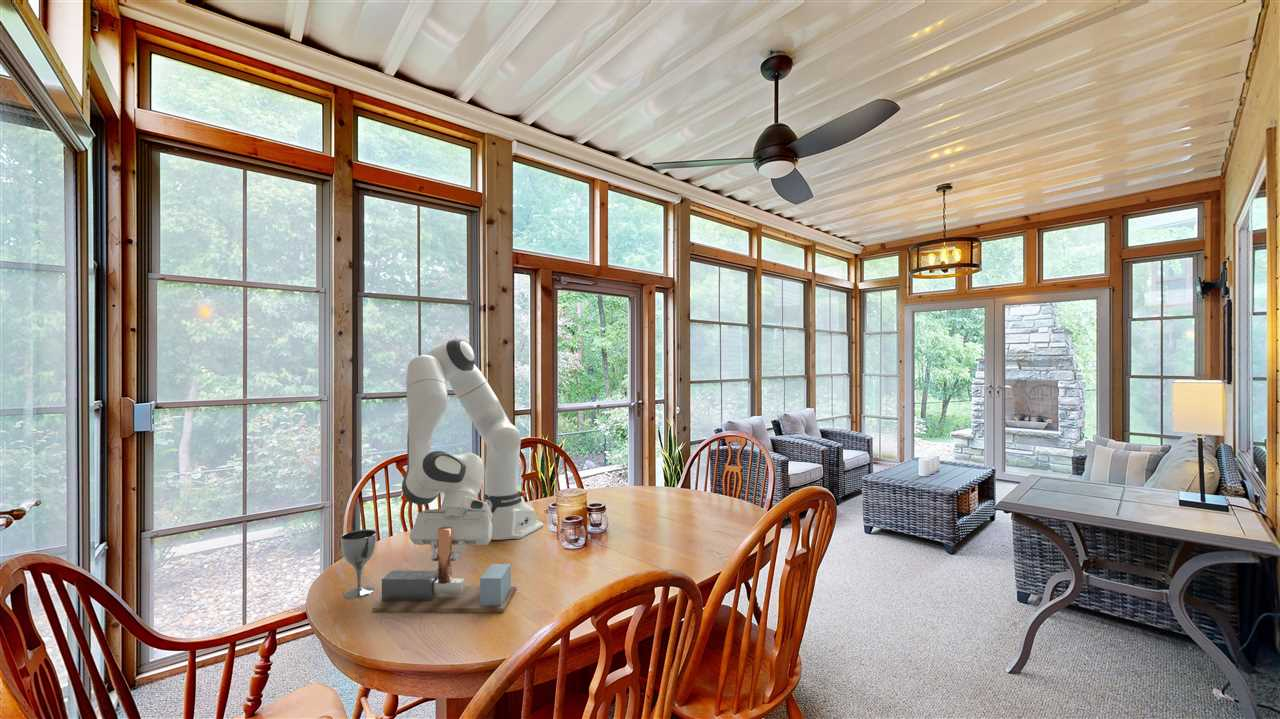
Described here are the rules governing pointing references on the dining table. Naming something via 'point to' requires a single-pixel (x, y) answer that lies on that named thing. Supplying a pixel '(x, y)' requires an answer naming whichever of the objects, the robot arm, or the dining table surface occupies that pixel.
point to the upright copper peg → (446, 565)
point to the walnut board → (446, 603)
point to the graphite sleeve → (408, 586)
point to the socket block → (495, 584)
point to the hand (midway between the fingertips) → (444, 560)
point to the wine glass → (358, 557)
